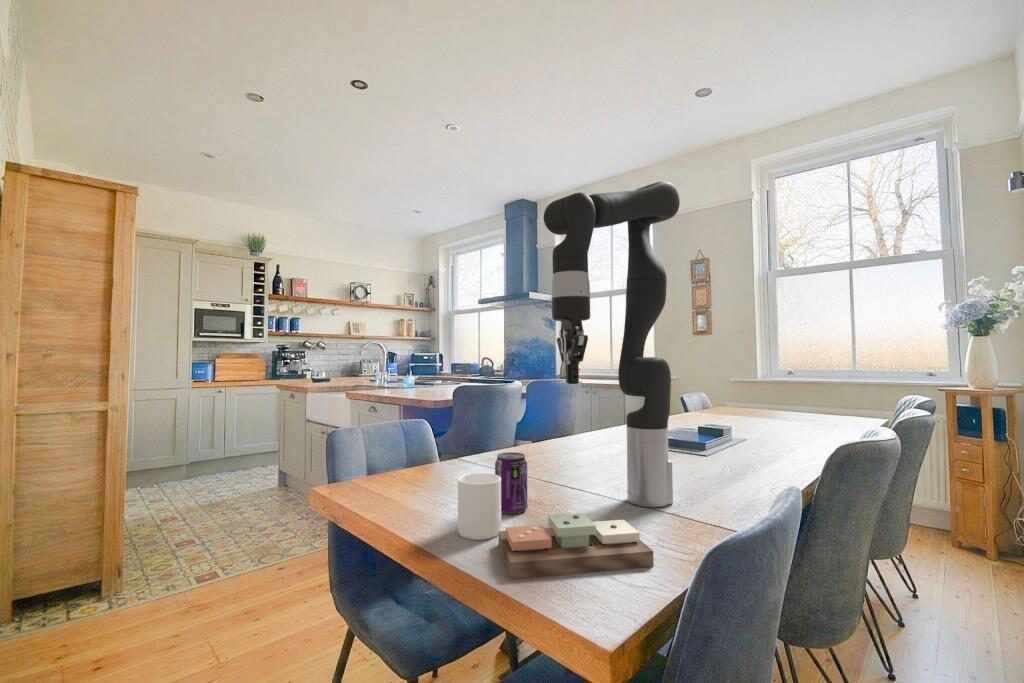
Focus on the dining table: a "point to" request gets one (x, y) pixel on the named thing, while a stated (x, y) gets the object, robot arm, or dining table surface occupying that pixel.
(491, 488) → the mug
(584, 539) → the key two
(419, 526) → the dining table surface
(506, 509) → the beverage can
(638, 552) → the keypad board
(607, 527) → the key one
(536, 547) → the key three
